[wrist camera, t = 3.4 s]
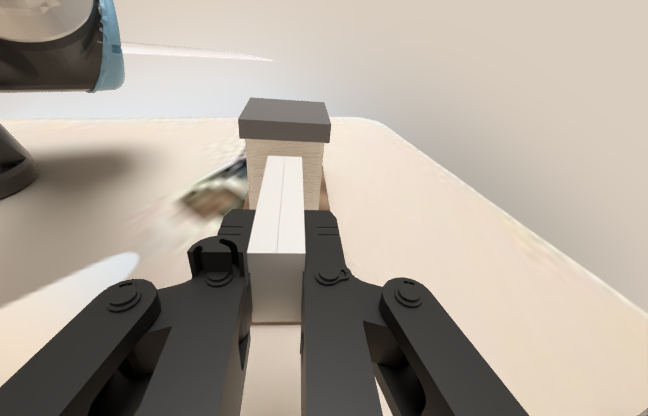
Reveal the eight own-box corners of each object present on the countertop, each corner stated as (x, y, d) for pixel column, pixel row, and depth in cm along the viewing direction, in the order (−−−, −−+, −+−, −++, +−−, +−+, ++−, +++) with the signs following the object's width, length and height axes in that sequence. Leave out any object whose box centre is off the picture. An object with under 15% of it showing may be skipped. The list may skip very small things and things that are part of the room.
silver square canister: (316, 277, 26) (330, 124, 19) (249, 277, 25) (238, 119, 18) (313, 237, 30) (324, 102, 23) (257, 236, 30) (250, 97, 23)
